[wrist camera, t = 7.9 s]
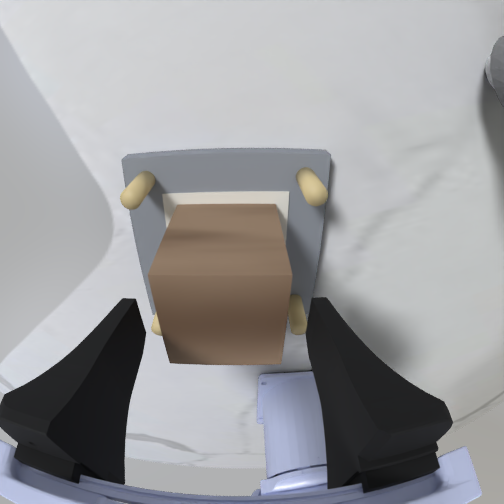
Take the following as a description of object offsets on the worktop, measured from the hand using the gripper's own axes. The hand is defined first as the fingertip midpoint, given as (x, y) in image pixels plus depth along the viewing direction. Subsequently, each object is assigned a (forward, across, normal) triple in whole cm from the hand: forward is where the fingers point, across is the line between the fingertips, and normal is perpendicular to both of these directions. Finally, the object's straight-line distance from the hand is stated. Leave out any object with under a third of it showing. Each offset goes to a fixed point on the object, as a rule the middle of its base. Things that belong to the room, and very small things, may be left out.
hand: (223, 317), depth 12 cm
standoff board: (+6, 0, 0) cm, 7 cm away
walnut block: (+5, 0, 0) cm, 5 cm away
